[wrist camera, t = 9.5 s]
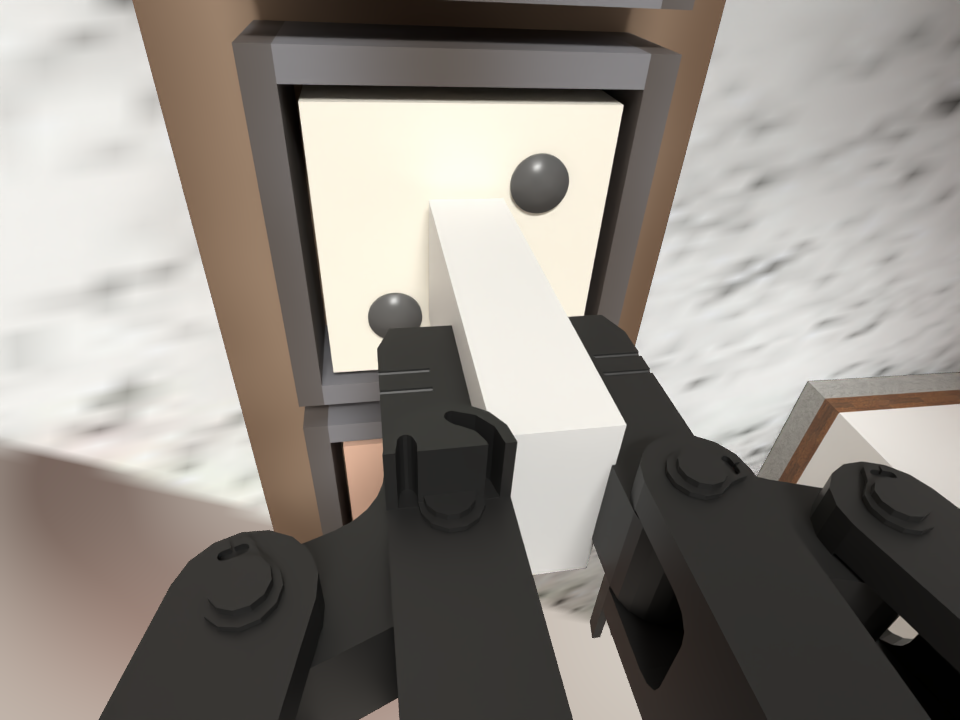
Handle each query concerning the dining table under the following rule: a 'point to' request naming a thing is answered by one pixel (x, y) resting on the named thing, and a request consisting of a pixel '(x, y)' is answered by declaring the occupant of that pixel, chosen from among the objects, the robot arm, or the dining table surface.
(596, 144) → the button three dots
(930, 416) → the curved tiered shelf
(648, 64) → the button panel
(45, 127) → the dining table surface
